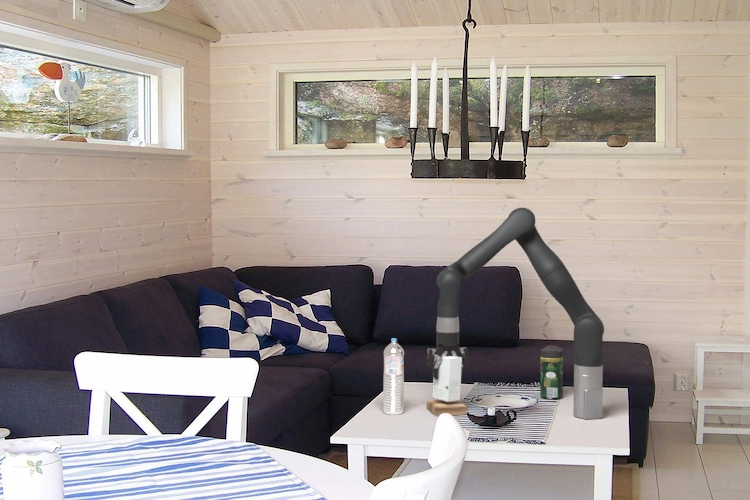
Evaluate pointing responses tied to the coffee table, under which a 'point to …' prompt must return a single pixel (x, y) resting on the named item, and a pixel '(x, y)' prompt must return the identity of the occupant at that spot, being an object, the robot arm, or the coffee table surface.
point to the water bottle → (393, 379)
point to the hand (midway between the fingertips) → (447, 378)
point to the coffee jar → (551, 372)
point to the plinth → (446, 407)
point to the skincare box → (448, 379)
